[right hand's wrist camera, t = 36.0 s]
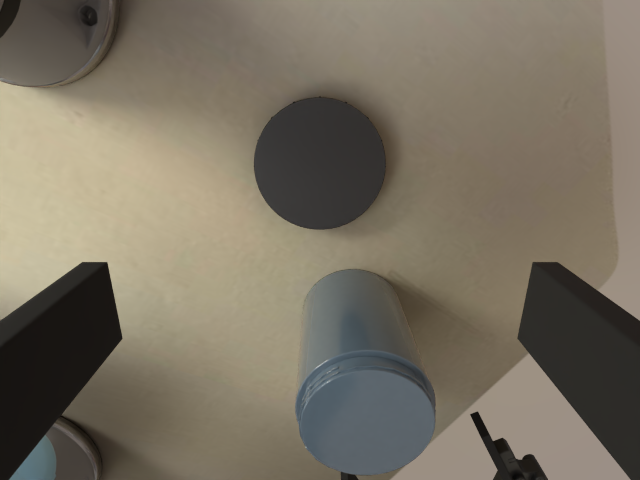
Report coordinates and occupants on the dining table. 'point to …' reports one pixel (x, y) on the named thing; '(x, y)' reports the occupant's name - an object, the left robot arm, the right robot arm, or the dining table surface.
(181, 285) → the dining table surface
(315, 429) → the jar
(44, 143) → the dining table surface
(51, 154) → the dining table surface
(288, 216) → the lid
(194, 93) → the dining table surface
